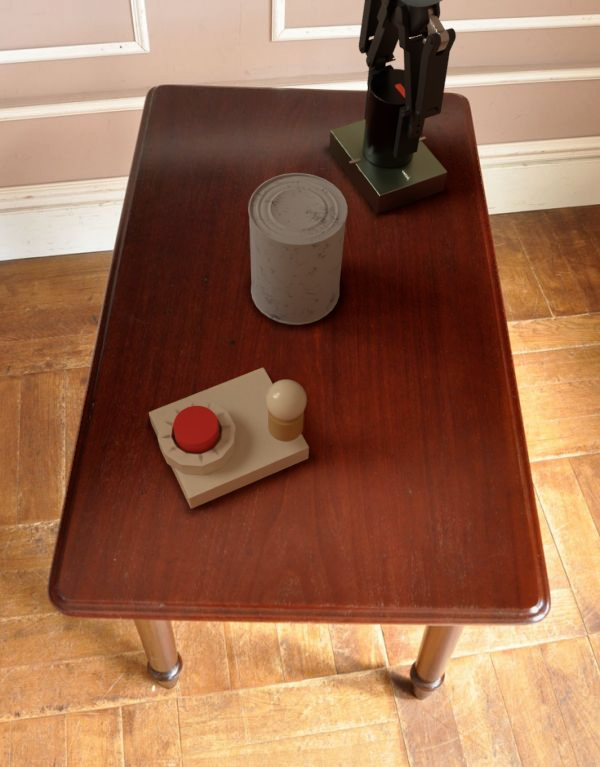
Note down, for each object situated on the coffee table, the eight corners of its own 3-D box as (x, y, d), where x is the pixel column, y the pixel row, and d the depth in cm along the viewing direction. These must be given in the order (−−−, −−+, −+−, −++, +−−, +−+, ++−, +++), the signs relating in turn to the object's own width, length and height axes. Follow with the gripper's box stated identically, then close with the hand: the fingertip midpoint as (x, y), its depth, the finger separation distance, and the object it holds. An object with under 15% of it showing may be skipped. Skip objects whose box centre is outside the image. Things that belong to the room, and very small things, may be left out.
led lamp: (259, 418, 79) (258, 380, 74) (294, 404, 80) (295, 365, 74) (276, 449, 77) (276, 412, 72) (311, 434, 78) (314, 397, 73)
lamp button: (168, 425, 79) (166, 415, 77) (208, 409, 80) (207, 399, 78) (185, 459, 77) (183, 450, 75) (226, 442, 78) (225, 433, 76)
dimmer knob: (353, 141, 101) (359, 74, 93) (397, 127, 103) (407, 60, 95) (378, 174, 98) (387, 108, 90) (423, 159, 100) (435, 92, 92)
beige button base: (146, 425, 83) (141, 403, 79) (263, 379, 86) (263, 356, 83) (186, 511, 78) (182, 491, 75) (308, 458, 81) (310, 437, 78)
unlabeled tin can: (278, 338, 89) (278, 258, 79) (235, 276, 93) (230, 193, 83) (356, 303, 92) (366, 222, 81) (310, 244, 96) (315, 160, 86)
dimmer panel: (324, 151, 105) (325, 130, 102) (396, 127, 107) (400, 106, 105) (372, 216, 99) (375, 196, 96) (447, 189, 101) (452, 169, 99)
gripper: (334, -104, 83) (323, 94, 102) (437, 2, 74) (403, 198, 93) (401, -120, 85) (378, 77, 104) (510, -19, 76) (462, 178, 95)
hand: (390, 134), depth 99 cm, fingers closed on dimmer knob, 6 cm apart
